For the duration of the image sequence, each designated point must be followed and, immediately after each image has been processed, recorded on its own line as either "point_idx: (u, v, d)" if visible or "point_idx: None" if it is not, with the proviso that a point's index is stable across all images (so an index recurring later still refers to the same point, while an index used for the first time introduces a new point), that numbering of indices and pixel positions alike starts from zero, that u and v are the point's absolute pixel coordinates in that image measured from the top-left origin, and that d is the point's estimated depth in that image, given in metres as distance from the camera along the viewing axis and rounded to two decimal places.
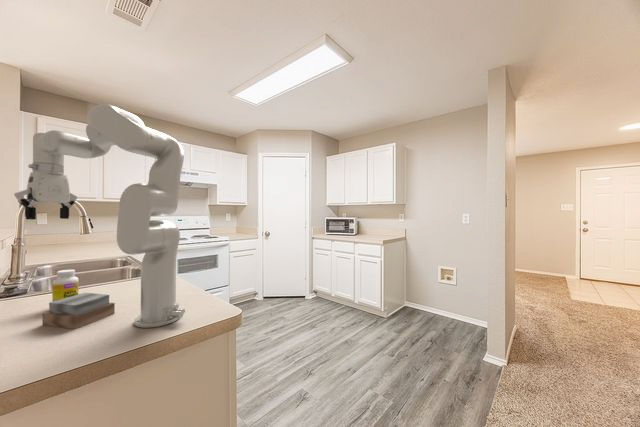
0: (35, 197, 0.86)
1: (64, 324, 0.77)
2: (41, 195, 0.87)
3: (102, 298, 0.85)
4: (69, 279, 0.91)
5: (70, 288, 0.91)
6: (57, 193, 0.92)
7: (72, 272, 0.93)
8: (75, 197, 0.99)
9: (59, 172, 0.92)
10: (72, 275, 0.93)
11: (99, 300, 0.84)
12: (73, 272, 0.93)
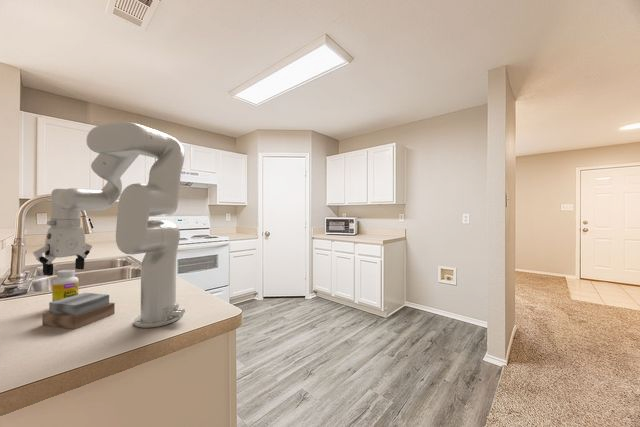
0: (53, 254, 0.88)
1: (64, 324, 0.77)
2: (59, 251, 0.89)
3: (102, 298, 0.85)
4: (69, 279, 0.91)
5: (70, 288, 0.91)
6: (73, 246, 0.93)
7: (72, 272, 0.93)
8: (90, 246, 1.01)
9: (76, 226, 0.93)
10: (72, 275, 0.93)
11: (99, 300, 0.84)
12: (73, 272, 0.93)
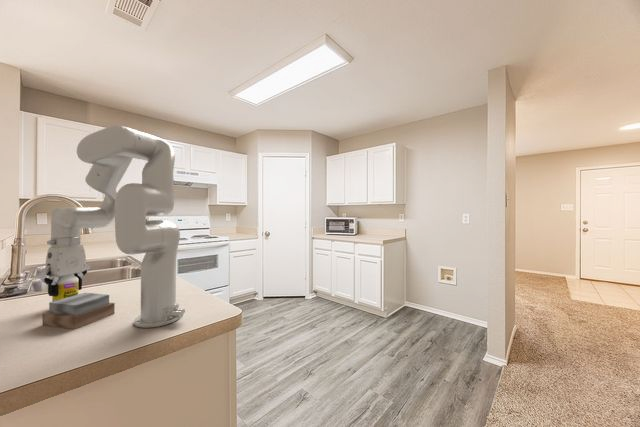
0: (54, 273, 0.88)
1: (64, 324, 0.77)
2: (59, 270, 0.89)
3: (102, 298, 0.85)
4: (69, 279, 0.91)
5: (69, 288, 0.91)
6: (74, 264, 0.93)
7: None
8: (89, 266, 1.00)
9: (76, 244, 0.93)
10: (72, 275, 0.93)
11: (99, 300, 0.84)
12: None
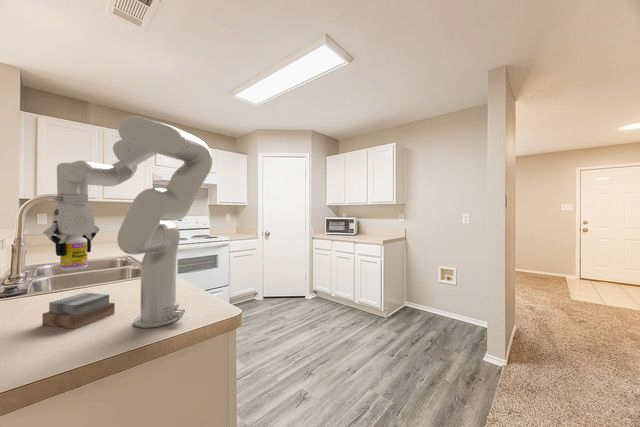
0: (61, 231, 0.83)
1: (64, 324, 0.77)
2: (67, 228, 0.84)
3: (102, 298, 0.85)
4: (77, 239, 0.87)
5: (78, 248, 0.86)
6: (82, 224, 0.88)
7: None
8: (97, 229, 0.95)
9: (84, 202, 0.88)
10: (80, 235, 0.88)
11: (99, 300, 0.84)
12: None
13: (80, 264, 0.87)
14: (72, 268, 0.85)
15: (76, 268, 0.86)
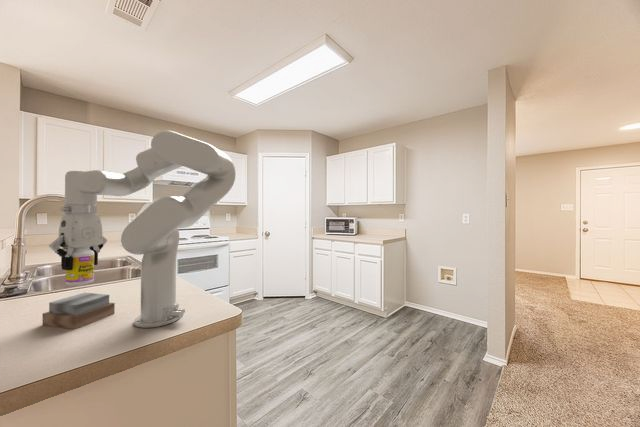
0: (68, 244, 0.77)
1: (64, 324, 0.77)
2: (74, 241, 0.79)
3: (102, 298, 0.85)
4: (84, 252, 0.81)
5: (85, 262, 0.81)
6: (90, 236, 0.83)
7: None
8: (105, 240, 0.90)
9: (93, 213, 0.83)
10: (87, 247, 0.83)
11: (99, 300, 0.84)
12: None
13: (86, 279, 0.82)
14: (78, 283, 0.80)
15: (82, 283, 0.81)
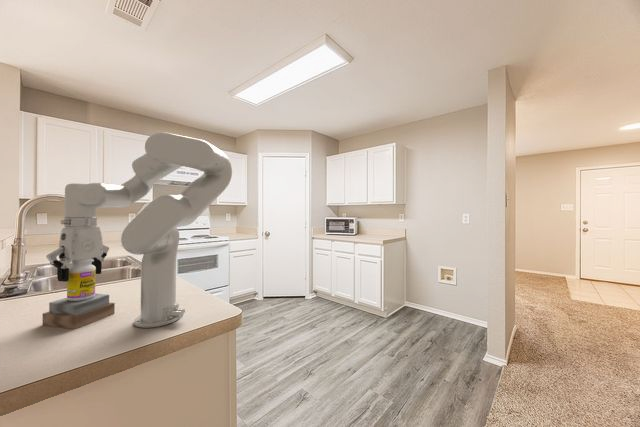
0: (68, 257, 0.78)
1: (64, 324, 0.77)
2: (74, 254, 0.79)
3: (102, 298, 0.85)
4: (86, 267, 0.82)
5: (86, 277, 0.81)
6: (90, 248, 0.83)
7: (89, 259, 0.83)
8: (107, 248, 0.91)
9: (93, 225, 0.83)
10: (89, 263, 0.83)
11: (99, 300, 0.84)
12: (90, 259, 0.83)
13: (88, 294, 0.82)
14: (79, 299, 0.80)
15: (84, 298, 0.81)
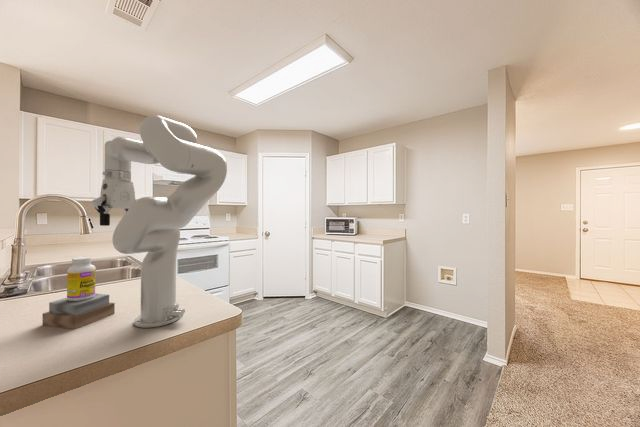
0: (110, 204, 0.88)
1: (64, 324, 0.77)
2: (115, 202, 0.89)
3: (102, 298, 0.85)
4: (86, 267, 0.82)
5: (86, 277, 0.81)
6: (126, 199, 0.94)
7: (89, 259, 0.83)
8: None
9: (128, 179, 0.94)
10: (89, 263, 0.83)
11: (99, 300, 0.84)
12: (90, 259, 0.83)
13: (88, 294, 0.82)
14: (79, 299, 0.80)
15: (84, 298, 0.81)
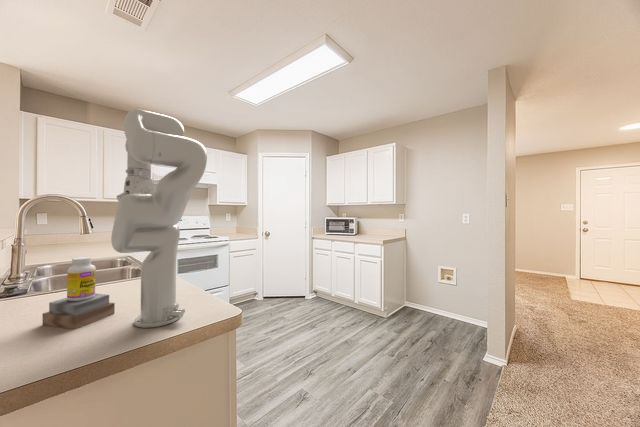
0: None
1: (64, 324, 0.77)
2: None
3: (102, 298, 0.85)
4: (86, 267, 0.82)
5: (86, 278, 0.81)
6: None
7: (89, 259, 0.83)
8: None
9: (149, 176, 1.01)
10: (89, 263, 0.83)
11: (99, 300, 0.84)
12: (90, 259, 0.83)
13: (88, 294, 0.82)
14: (80, 299, 0.80)
15: (84, 298, 0.81)
